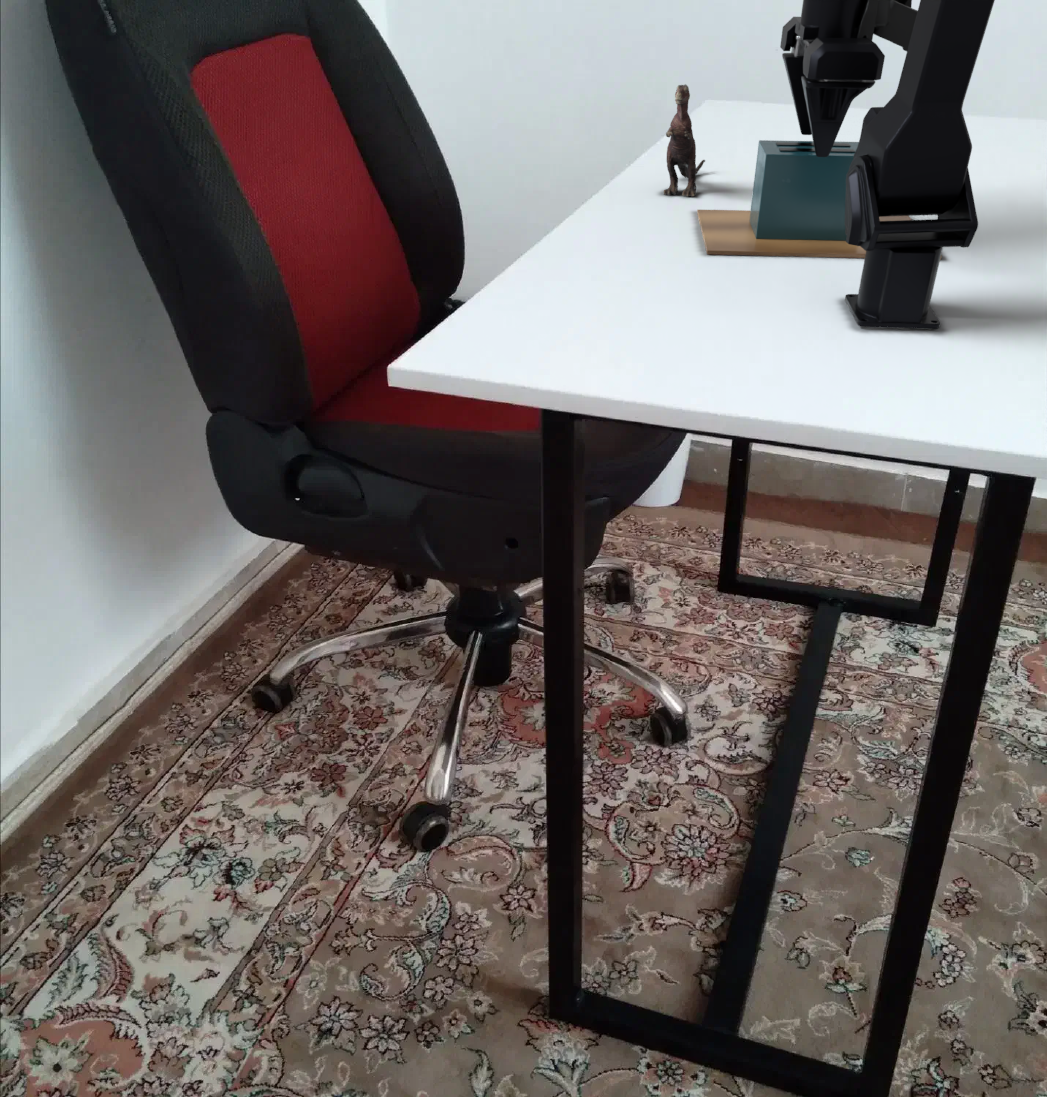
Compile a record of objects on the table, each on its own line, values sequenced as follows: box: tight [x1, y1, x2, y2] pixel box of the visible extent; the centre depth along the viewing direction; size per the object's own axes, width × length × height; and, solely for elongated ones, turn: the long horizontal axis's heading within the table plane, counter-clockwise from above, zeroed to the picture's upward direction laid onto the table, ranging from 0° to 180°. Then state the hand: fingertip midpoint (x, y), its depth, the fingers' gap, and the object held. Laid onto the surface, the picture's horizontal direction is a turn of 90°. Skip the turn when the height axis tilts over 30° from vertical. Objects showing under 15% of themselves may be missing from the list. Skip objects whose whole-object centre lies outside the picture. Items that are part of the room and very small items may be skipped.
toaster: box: [749, 139, 859, 241], centre depth 102 cm, size 11×6×8 cm, turn 86°
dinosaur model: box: [663, 83, 706, 197], centre depth 117 cm, size 4×12×15 cm
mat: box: [696, 209, 943, 261], centre depth 104 cm, size 14×22×1 cm, turn 86°
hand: (814, 145), depth 99 cm, fingers open, 9 cm apart
